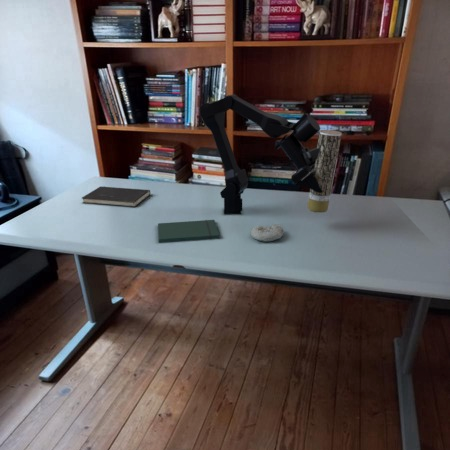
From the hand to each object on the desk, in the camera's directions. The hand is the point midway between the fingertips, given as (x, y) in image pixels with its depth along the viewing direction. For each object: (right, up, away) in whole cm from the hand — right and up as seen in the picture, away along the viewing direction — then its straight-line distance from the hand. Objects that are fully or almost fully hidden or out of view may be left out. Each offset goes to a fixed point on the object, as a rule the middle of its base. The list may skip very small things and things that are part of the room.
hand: (324, 189), depth 138 cm
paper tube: (-1, -6, +4) cm, 7 cm away
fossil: (-19, -16, +1) cm, 24 cm away
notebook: (-46, -13, +5) cm, 48 cm away
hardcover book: (-78, +5, +35) cm, 86 cm away
